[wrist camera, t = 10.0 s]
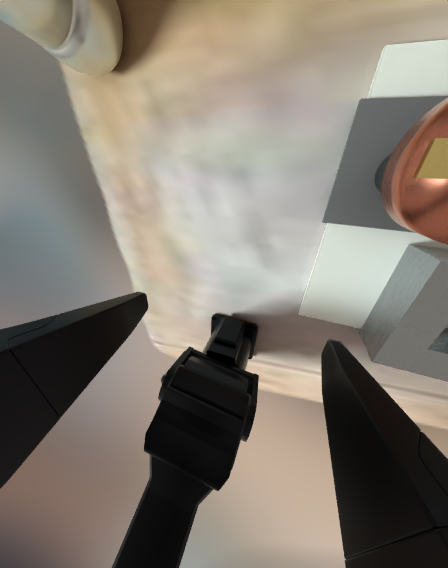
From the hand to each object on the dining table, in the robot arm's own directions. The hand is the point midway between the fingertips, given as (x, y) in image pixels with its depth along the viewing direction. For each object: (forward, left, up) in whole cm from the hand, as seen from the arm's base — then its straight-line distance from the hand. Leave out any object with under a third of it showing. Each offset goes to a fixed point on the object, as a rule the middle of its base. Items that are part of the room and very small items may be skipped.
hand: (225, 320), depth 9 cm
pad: (+7, -9, -12) cm, 17 cm away
